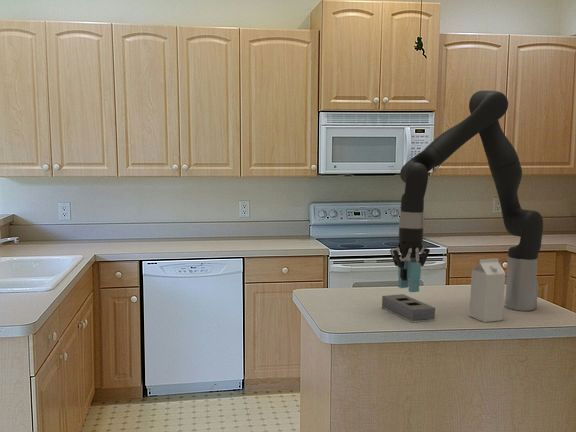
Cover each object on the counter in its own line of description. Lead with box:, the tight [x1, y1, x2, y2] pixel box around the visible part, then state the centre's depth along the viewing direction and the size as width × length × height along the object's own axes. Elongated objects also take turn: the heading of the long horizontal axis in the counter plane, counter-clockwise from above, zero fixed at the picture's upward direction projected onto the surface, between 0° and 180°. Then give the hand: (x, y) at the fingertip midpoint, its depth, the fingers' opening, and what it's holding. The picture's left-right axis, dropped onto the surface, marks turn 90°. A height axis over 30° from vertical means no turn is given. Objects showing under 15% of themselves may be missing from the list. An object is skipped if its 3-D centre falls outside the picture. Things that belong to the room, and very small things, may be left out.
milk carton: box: [469, 258, 506, 323], centre depth 178 cm, size 7×7×19 cm
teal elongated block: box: [397, 260, 422, 293], centre depth 181 cm, size 8×3×9 cm, turn 21°
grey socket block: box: [381, 293, 436, 324], centre depth 183 cm, size 18×8×4 cm, turn 21°
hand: (408, 279), depth 182 cm, fingers closed on teal elongated block, 3 cm apart
